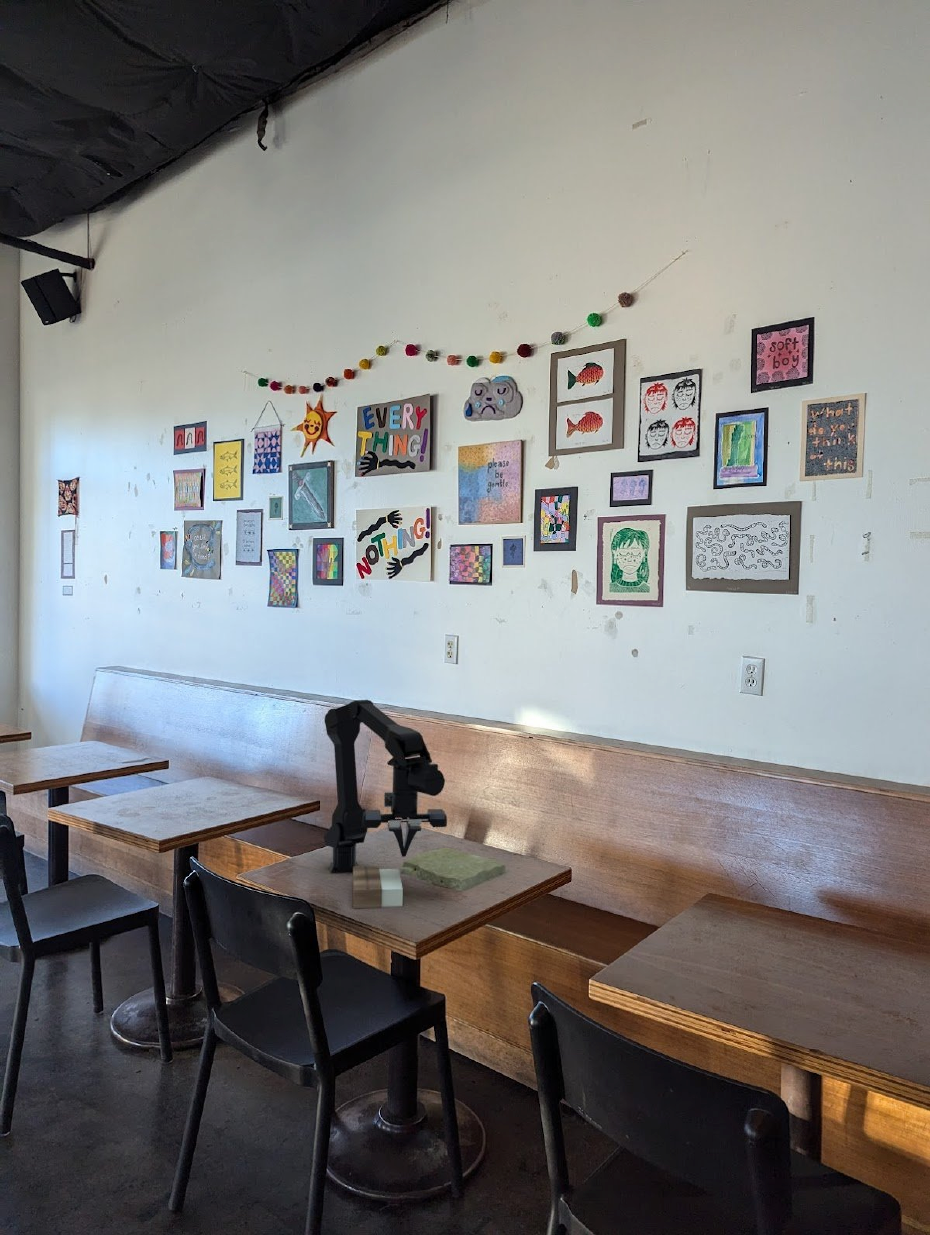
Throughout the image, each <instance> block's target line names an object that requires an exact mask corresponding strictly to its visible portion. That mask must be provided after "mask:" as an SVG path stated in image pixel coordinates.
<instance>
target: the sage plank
mask: <svg viewBox="0 0 930 1235" xmlns="http://www.w3.org/2000/svg"><path fill="white" fill-rule="evenodd" d="M379 871H380V879H381V887H382V904H381V908H383V907H385V908H386V907H403V893H404V888H403V884H402V880H401V874H400V870H399V868H379Z"/></svg>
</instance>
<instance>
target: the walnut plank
mask: <svg viewBox="0 0 930 1235" xmlns="http://www.w3.org/2000/svg"><path fill="white" fill-rule="evenodd" d="M379 869H380V866H379V865H364V866H363V865H361V866H360V865H359V866H358V865H357V866H353V872H352V903H353V909H372V908H373V909H374V908H378V909H379V908H382V905H381V904H382V887H381V879H380V871H379Z"/></svg>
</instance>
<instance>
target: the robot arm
mask: <svg viewBox="0 0 930 1235" xmlns="http://www.w3.org/2000/svg"><path fill="white" fill-rule="evenodd" d="M361 724H363V725H365V726H366V727H368V729H370V731H372V732H373V733H374V734H376V735H377V736H378V737H379V738H380V739H381V740H382V741H383V742H384V748H385V750H386V751H387V752H388V753H389V755H390V756H391V757H392V758H391V759H389V760H388V761H387V764H386V765H388V766H391V767H392V792H384V803H383V805H384V808H390V812H391V813H381V809H367V808H363V807H362V806H361V804H360V802H359V795H358V792H359V791H358V780H357V767H356V765H357V763H356V749H355V748H356V747H355V743H356V740H357V739H358V736H359V735H360V732H361ZM324 725H325V729H326V730H325V732H326V735H327V736H328V738H329V739H330V741H331V742H332V744H333V749H334V750H333V751H334V762H335V766H334V768H335V777H336V778H335V779H336V792H337V793H336V794H337V795H336V796H337V797H336V798H337V805H336V807H335V809H334V811H333V813H332V816H331V826H330V827H329V829H327V831H326V833H325V834H324V835H323V839H324V840H323V841H324V845H326V846H328V847H330V848H332V862H330V873H353V866H358V862H357V845H358V844H364V842H365V841H366V840H365V838H366V835H367V832H368V829H377V828H379V827H380V826H381V825H382V823H384V824H387V829H388V832H391V833H392V832H393V834H394V836H395V838H396V841H397V843H398V847H399V851H400V855H401V857H402V858H403V857H406V856H407V854H408V850H409V848H410V846H411V843H412V841H413V840H414V838H415V836H416V835H417V832H421V831H422V826H421V825H422V823H429V825H431V827H432V828H446V827H447V826H448V816H447V814H446V812H445V811H444V810H443V808H436V809H435V808H432V809H431V808H429V809H427V811H426V812H427V813H418V801H419V800H418V799H419V796H418V795H419V793H421V794H424V795H428V796H431V797H436V796H438V795H439V794H441V793H442V791H443V789H444V786H445V782H446V779H445V776H444V773H443V772H442V771H441V770H440V769H439V765H438V763H433V759H432V757H431V753H430V751H429V750H428V747H427V744H426V743H425V741H424V738H423V735H422V733H421V732H419V731H418V730H415V729H413V728H411V727H408V726H403V725H400V724H398V723H397V722H395V721H394V720H393V719H392V718H391V717H389V716H388V715H386V714H385V713H384V712H383V711H382V710H381V709H379V708H378V707H377V706H376V705H374V703H373V701H372V700H369V699H360V700H353V701H351V702H349V703H348V704H345V705H342V706H339V707H335V708H329V710H328V711H327V713H326V714H325V715H324ZM402 823H406V826H405V835H403V829H402ZM403 836H404V837H403Z"/></svg>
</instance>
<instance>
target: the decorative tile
mask: <svg viewBox="0 0 930 1235" xmlns="http://www.w3.org/2000/svg"><path fill="white" fill-rule="evenodd" d="M400 872H401V873H402V874H404V875H408V876H414V877H416V878H418V879H420V880H425V881H426V880H427V882H428V883H430V884H434V885H435V884H436V886H439V887H444V888H447V887H448V889H450V888H451V889H450V890H454V891H457V892H464V891H466V890H468V888H469V889H470V887H471V888H473V887H476V886H478V885H477V884H479V885H480V884H483V882H484V883H486V882H487V881H486V880H488V881H490V879H491V880H493V879H495V878H494V877H496V878H498V877H500V876H502V874H503V875H505V874H506V872H507V871H506V864H505V862H504V863H503V862H501V861H497V860H494V859H490V858H487V857H483V856H479V855H475V854H471V853H468V852H464V851H459V850H453V849H452V848H448V847H442V848H440V849H439V848H437V849H432V850H430V851H426V852H422V853H420V854H418V855H414V856H412V857H409V858H407V859H406V860H404V861H403V862H402V867H401V868H400ZM504 873H505V874H504ZM499 875H500V876H499ZM492 878H493V879H492ZM485 881H486V882H485Z"/></svg>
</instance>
